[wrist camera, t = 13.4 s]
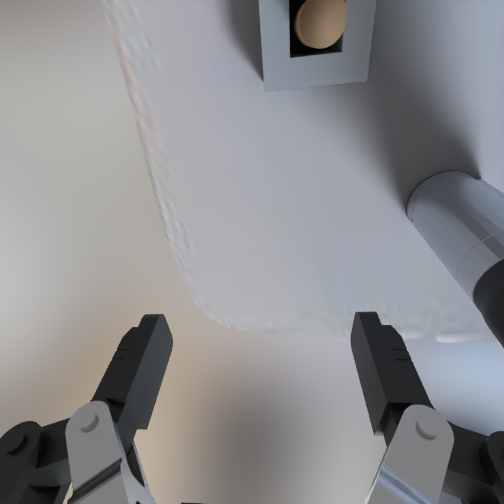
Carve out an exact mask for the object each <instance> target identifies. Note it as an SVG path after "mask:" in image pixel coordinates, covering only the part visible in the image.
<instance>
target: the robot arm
mask: <svg viewBox="0 0 504 504" xmlns="http://www.w3.org/2000/svg"><path fill="white" fill-rule="evenodd" d="M407 215H408V218H409V220H410V221H411V222H412V224H413V225H414V226H415V228H416V229H417V230H418V232H419V233H420V234H421V236H422V237H423V238H424V239H425V241H426V242H427V243H428V245H429V246H430V247H431V249H432V250H433V251H434V252H435V254H436V255H437V256H438V258H439V259H440V260H441V262H442V263H443V264H444V265H445V267H446V268H447V269H448V271H449V272H450V273H451V275H452V276H453V277H454V278H455V280H456V281H457V282H458V284H459V285H460V286H461V287H462V289H463V290H464V291H465V293H466V294H467V295H468V296H469V298H470V299H471V300H472V302H473V303H474V304H475V305H476V307H477V308H478V309H479V311H480V312H481V313H482V315H483V317H484V320H485V322H486V324H487V325H488V327H489V328H490V330H491V331H492V333H493V334H494V335H495V337H496V338H497V339H498V341H499V342H500V344H501V345H502V346H503V348H504V194H503V193H502V192H500V191H499V190H497V189H496V188H494V187H493V186H491V185H490V184H488V183H487V182H485V181H484V180H482V179H474V178H473V177H471V176H470V175H468V174H466V173H464V172H459V171H447V172H443V173H439V174H437V175H434V176H432V177H430V178H429V179H427V180H425V181H424V182H423V183H422V184H420V185H419V186H418V187H417V188H416V189H415V191H414V192H413V193H412V195H411V197H410V198H409V201H408V204H407ZM172 347H173V338H172V334H171V332H170V329H169V326H168V324H167V321H166V319H165V316H164V315H163V314H149V315H148V314H146V315H144V316H143V318H142V319H141V322H140V324H139V326H138V327H132V328H131V329H130V330H129V331H128V332H127V333H126V334H125V336H124V337H123V338H122V340H121V342H120V344H119V346H118V348H117V351H116V352H115V354H114V356H113V358H112V361H111V362H110V364H109V366H108V368H107V370H106V372H105V374H104V376H103V378H102V380H101V382H100V384H99V386H98V388H97V390H96V392H95V394H94V396H93V398H92V400H91V401H90V402H89V403H87V404H85V405H83V406H82V407H80V408H79V409H78V410H77V411H76V412H75V413H74V414H73V415H72V417H71V418H68V419H65V420H62V421H59V422H56V423H53V424H50V425H47V426H43V427H41V426H40V425H39V424H37V423H36V422H34V421H26V422H23V423H20V424H18V425H16V426H14V427H13V428H11V429H10V430H9V431H7V432H6V433H5V434H4V435H3V436H2V437H1V438H0V504H63V501H64V499H65V496H66V494H67V491H68V489H69V486H70V484H71V482H72V488H73V495H72V497H71V498H70V499H69V500H68V502H67V504H156V503H155V501H154V498H153V497H152V495H151V492H150V490H149V488H148V484H147V481H146V478H145V475H144V471H143V468H142V465H141V462H140V458H139V455H138V452H137V449H136V446H135V443H134V440H133V439H134V436H135V433H136V430H137V429H147V428H148V424H149V421H150V418H151V415H152V412H153V408H154V405H155V402H156V399H157V396H158V393H159V390H160V386H161V383H162V379H163V377H164V374H165V370H166V367H167V364H168V361H169V358H170V354H171V351H172ZM351 348H352V352H353V356H354V360H355V364H356V368H357V371H358V375H359V379H360V383H361V387H362V390H363V394H364V398H365V402H366V406H367V410H368V413H369V417H370V421H371V425H372V429H373V432H374V435H382V436H384V438H385V442H386V445H387V448H386V451H385V453H384V455H383V458H382V460H381V462H380V465H379V467H378V470H377V472H376V475H375V477H374V479H373V482H372V485H371V487H370V489H369V492H368V494H367V496H366V499H365V501H364V503H363V504H438V500H439V497H440V493H441V491H443V492H445V493H448V494H450V495H453V496H455V497H458V498H460V499H461V502H462V504H504V431H498V432H494V433H492V434H491V435H490V436H489V437H488V436H485V435H482V434H479V433H476V432H473V431H470V430H467V429H464V428H461V427H459V426H456V425H454V424H452V423H450V422H449V421H447V420H446V419H445V418H444V417H443V416H442V415H441V414H440V413H438V412H437V411H436V410H435V409H434V407H433V406H432V404H431V402H430V400H429V398H428V396H427V394H426V391H425V389H424V387H423V385H422V382H421V380H420V378H419V375H418V373H417V371H416V369H415V367H414V364H413V362H412V361H411V357H410V355H409V353H408V351H407V349H406V346H405V344H404V341H403V339H402V337H401V335H400V334H399V333H398V332H397V331H396V330H395V329H394V328H393V327H392V326H391V325H382V324H381V322H380V319H379V317H378V314H377V313H376V312H356V313H355V316H354V322H353V327H352V332H351ZM181 504H200V503H181Z"/></svg>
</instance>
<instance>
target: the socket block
mask: <svg viewBox="0 0 504 504" xmlns="http://www.w3.org/2000/svg"><path fill="white" fill-rule="evenodd" d="M376 1H377V0H344V2H345V4H346V8H347V21H346V25H345V28H344V31H343V33H342V34H341V36H340V37H339V39H338V40H337V41H336V42H335V43H334V44H332V45H331V50H326V51H317V52H309V53H300V54H292V55H290V31H289V0H259V15H260V30H261V45H262V60H263V76H264V91H265V92H270V91H280V90H289V89H299V88H308V87H318V86H327V85H336V84H346V83H355V82H365V81H367V78H368V70H369V61H370V53H371V44H372V35H373V27H374V18H375V10H376Z"/></svg>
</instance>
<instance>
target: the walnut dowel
mask: <svg viewBox="0 0 504 504" xmlns="http://www.w3.org/2000/svg"><path fill="white" fill-rule="evenodd" d="M346 21H347V8H346V4H345V2H344V0H307V1H306V2H305V3H304V4H303V5H302V6H301V7H300V8H299V9H298V10H297V11H296V13H295V15H294V17H293V20H292V33H293V36H294V38H295V39H296V41H297V42H298V43H300V44H301V45H304V46H309V47H313V48H319V49H320V48H326V47H329V46H331V45H332V44H334V43H335V42H336V41H337V40H338V39H339V37H340V36H341V34H342V33H343V31H344V28H345V25H346Z"/></svg>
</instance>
